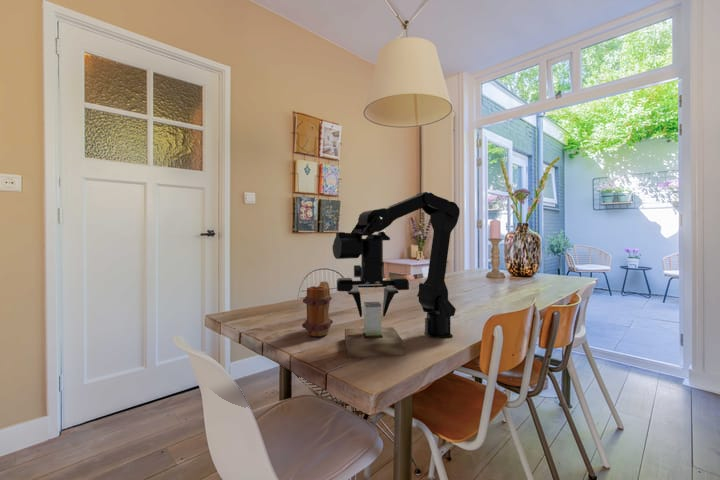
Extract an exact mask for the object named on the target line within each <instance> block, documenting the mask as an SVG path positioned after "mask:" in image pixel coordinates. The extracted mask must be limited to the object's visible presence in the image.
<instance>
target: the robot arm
mask: <svg viewBox="0 0 720 480" xmlns="http://www.w3.org/2000/svg"><path fill="white" fill-rule="evenodd" d="M420 209H421V210H422V211H423V212H424V213H425V215H429V216H430V217H429V218H430V219H429V220H430V221H429V222H430V225H431V227H432V230H433V235H432V241H431V248H430V249H431V250H430V257H429V264H428V270H427V271H428V272H427V278H426V279H425V281H424V282H422V283H421V282H419V284H418V293H417V295H416V296H417V297H418V303H419V304H420V305H421V308H422V311H423V312H424V313H426V318H424V333H426V335H428V336H429V337H430V338H431V339H432V338H433V339H435V338H452V337H454V335H453V334H452V333H451V317H454V316H455V315H456V314H455V313H456V307H455V306H454V305H453V304H452V303H451V302H450V300H449V290H448V287H447V285H446V282H445V278H446V277H445V276H446V271H447V265H448V264H447V262H448V257H449V256H448V255H449V254H448V253H449V247H450V239H451V234H452V232H453V230H454V229H455V227H456V226H457V224H458V222H459V217H460V213H461V212H460V211H461V210H460V207H459V206H458V204H457V203H456V202H454V201H450V200H448V199H446V198H443V197H442V196H441V197H440V196H438V195H435V194H434V193H432V192H430V191H425V192H419V193H417V194H415V195H413V196H411V197H409V198H406V199H404V200H402V201H398V202H396V203H394V204H391V205H388V206H387V207H383V208H381V207H380V208H376V209H373V210H372V209H371V210H366V211H363V212H361V213H360V214H359V215H358V219H357V223H356V225H354V227H353V229H352V231H351V232H343V231H337V232H335V238H334V240H333V244H332V254H333V257H334V259H336V260H345V259H346V260H347V259H348V260H349V259H358V258H360V256H361V259H360V260H361V265H360V264H358V265H353V278H359V280H353V279H352V277H338V279H337V280H336V290H337V292H347V295H349V296H351V295H352V297H353V299H354V302H355V304H356V308H357V311H358V315H359V317H360V318H362V317H363V308H362V300H361V292H360V290H359V288H360V289H361V288H363V289H364V288H383V302H382V303H383V304H382V316H383V317H385V316H386V314H387V312H388V309H389V306H390V304H391V303H392V300H393V299H394V296H395V294H396V295H397V294H399V291H409V290H410V282H409V280H408V278H405V277H404V276H390V279H384V247H383V246H384V242H383V241H390V240H391V237H390V236H388V235H387V234H386V232H385V231H383V230H385V229H386V228H388V227H389V226H391V225H392V224H393V222H395V221H396V220H397V219H399V218H402V217H404V216H407V215H408V214H411V213H414V212H417V210H420ZM375 233H377V234H375ZM363 236H364V237H366V238H363Z"/></svg>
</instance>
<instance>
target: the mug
mask: <svg viewBox="0 0 720 480" xmlns="http://www.w3.org/2000/svg"><path fill="white" fill-rule="evenodd" d="M330 289H331V288H330V285H329V282H328V281H320V283H319V285H318V286H316V285H315V286H310V287H307V289H306V296H305V297H304V298H303V299H302V303H304V304H305V305H306V320H305V321H304V322H303V323H302V325H301V327H302V328H304V329H305V331H306V334H307V335H308V336H309V337H315V338H316V337H317V338H318V337H324V336H326V335H327V334H328V333H329V332H330V331H329V330H330V328H331V326H332V324H333V321H334V320H333V319H331V318H330V317H329V316H330V315H329V310H330V304H331V303H330V302H331V301H332V299H333V298H332V297H331V290H330Z"/></svg>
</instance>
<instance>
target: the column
mask: <svg viewBox="0 0 720 480" xmlns="http://www.w3.org/2000/svg"><path fill="white" fill-rule="evenodd" d="M363 328H364V332H365V335H366V336H374V335H381V328H382V304H381V303H380V301H363Z"/></svg>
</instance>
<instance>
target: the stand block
mask: <svg viewBox="0 0 720 480" xmlns="http://www.w3.org/2000/svg"><path fill="white" fill-rule="evenodd" d="M344 343H345V347H346V353H347V358H363V357H365V358H366V357H383V356H384V357H387V356H389V357H390V356H403V355H404V356H405V354H406V353H405V349H406V347H405V346H406V344H405V341H404V339H402V337H401V336H400V335H399V333H398V332H397V331H396V329H395V328H394V326H389V327H388V326H387V327H384V326H383V327H381V335H374V336H366V335H365V332H364V327H360V328H356V327H355V328H344Z"/></svg>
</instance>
